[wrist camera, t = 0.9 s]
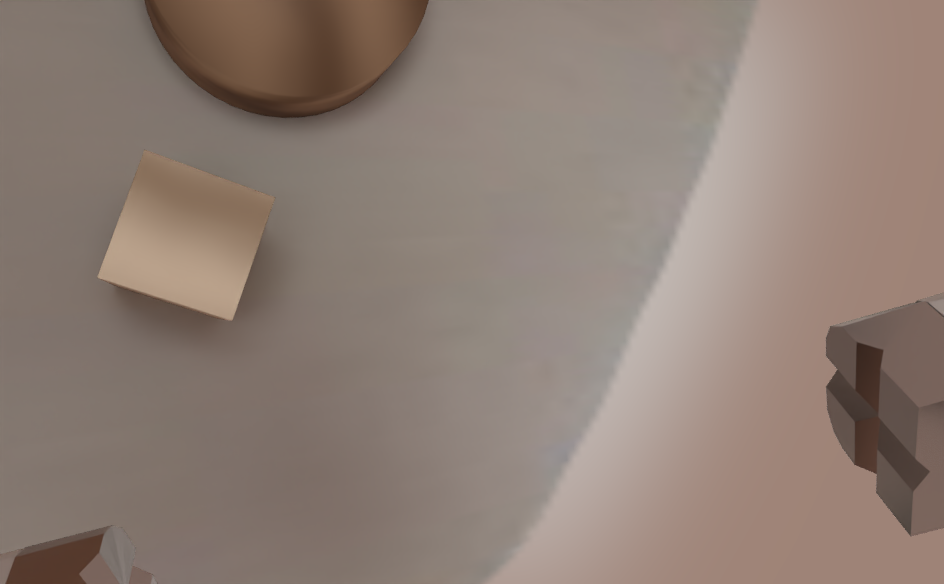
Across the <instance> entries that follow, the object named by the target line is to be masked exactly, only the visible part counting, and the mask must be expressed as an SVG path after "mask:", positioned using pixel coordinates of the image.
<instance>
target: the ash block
mask: <svg viewBox="0 0 944 584" xmlns="http://www.w3.org/2000/svg"><path fill="white" fill-rule="evenodd" d="M274 200H275V197H273V196H270V195H267V194H264V193H262V192H259V191H256V190H253V189H251V188H248V187H245V186H243V185H240V184H237V183H234V182H232V181H229V180H226V179H223V178H221V177H218V176H215V175H212V174H210V173H207V172H204V171H202V170H199V169H196V168H193V167H191V166H188V165H185V164H182V163H180V162H177V161H174V160H172V159H169V158H166V157H163V156H161V155H158V154H155V153H152V152H150V151H147V150H144V153H143V155H142V158H141V161H140V164H139V166H138V169H137V172H136V174H135V177H134V180H133V182H132V185H131V188H130V191H129V193H128V196H127V199H126V201H125V204H124V207H123V209H122V212H121V215H120V218H119V220H118V223H117V226H116V228H115V231H114V234H113V236H112V239H111V242H110V245H109V247H108V250H107V253H106V255H105V258H104V261H103V263H102V266H101V269H100V272H99V274H98V277H97V278H99V279H101V280H104V281H106V282H108V283H110V284H112V285H115V286H118V287H121V288H124V289H127V290H130V291H133V292H137V293H140V294H143V295H146V296H149V297H152V298H155V299H158V300H162V301H165V302H168V303H171V304H174V305H177V306H180V307H184V308H187V309H190V310H193V311H196V312H199V313H202V314H205V315H209V316H212V317H215V318H218V319H224V320H230V321H232V320H233V317H234V314H235V311H236V309H237V306H238V303H239V300H240V297H241V294H242V291H243V288H244V286H245V283H246V280H247V277H248V274H249V271H250V268H251V266H252V263H253V260H254V257H255V254H256V251H257V248H258V246H259V243H260V240H261V237H262V234H263V231H264V228H265V225H266V223H267V220H268V217H269V214H270V211H271V208H272V205H273V203H274Z"/></svg>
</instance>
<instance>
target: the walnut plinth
mask: <svg viewBox="0 0 944 584" xmlns="http://www.w3.org/2000/svg"><path fill="white" fill-rule="evenodd" d="M428 1H429V0H145V4H146V8H147V12H148V15H149V17H150V20H151V23H152V25H153V28H154V30H155V32H156V34H157V36H158V38H159V40H160V41H161V43H162V45H163V47H164V48H165V49H166V51H167V52H168V54H169V55H170V57H171V58H172V59H173V61H174V62H175V63H176V64H177V65H178V66H179V67H180V69H181V70H182V71H183V72H184V73H185V74H186V75H187V76H188V77H189V78H190V79H192V80H193V81H194V82H195V83H196V84H197V85H199V86H200V87H201V88H203V89H204V90H206V91H207V92H208V93H210V94H211V95H213V96H214V97H216V98H218V99H220V100H222V101H224V102H226V103H228V104H230V105H232V106H234V107H237V108H240V109H243V110H245V111H248V112H252V113H256V114H260V115H265V116H272V117H282V118H290V117H305V116H312V115H318V114H321V113H324V112H328V111H331V110H334V109H336V108H338V107H341V106H343V105H345V104H347V103H349V102H351V101H352V100H354V99H355V98H357V97H358V96H360V95H362V94H363V93H364V92H365V91H366V90H367V89H369V88H370V87H371V86H372V85H373V84H374V83H375V82H376V81H377V80H378V79H379V77H380V76H381V75H382V74H383V73H384V72H385V71H386V69H387V68H388V67H389V66H390V65H391V64H392V63H393V61H394V60H395V59H396V58H397V57H398V56H399V55H400V53H401V52H402V51H403V50H404V49H405V48H406V47H407V45H408V44H409V42H410V41H411V39H412V38H413V36H414V35H415V33H416V31H417V29H418V27H419V25H420V23H421V21H422V19H423V17H424V14H425V10H426V7H427V4H428Z"/></svg>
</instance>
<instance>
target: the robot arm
mask: <svg viewBox="0 0 944 584" xmlns="http://www.w3.org/2000/svg"><path fill="white" fill-rule="evenodd" d="M826 356H827V358H828V359H829V360H830V361H831V362H832V364H833V365H834V366H835V367H836V368H837V369H838V370H837V371H836V373H835V374H834V376H833V377H832V379H831V380H830V382H829V383H828V385H827V386H826V394H827V410H828V413H829V417H830V420H831V424H832V427H833V430H834V433H835V435H836V437H837V439H838V441H839V443H840V444H841V446H842V448H843V450H844V451H845V452H846V454H847V455H848V457H849V458H850V459H851V460H852V462H853V463H854V465H857V466H859V467H861V468H864V469H866V470H869V471H871V472H874V473H876V474H877V484H876V486H877V487H876V493H877V494H878V495H879V497H880V498H881V499H882V500H883V502H884V503H885V504H886V506H887V507H888V508H889V509H890V511H891V512H892V513H893V515H894V516H895V517H896V518H897V520H898V521H899V522H900V523H901V525H902V526H903V527H904V528H905V530H906V531H907V532H908V533H909V535H910V536H914V535H918V534H922V533H926V532H929V531H933V530H938V529H941V528H944V293H941V294H937V295H934V296H931V297H927V298H924V299H921V300H917V301H916V302H915V303H910V304H907V305H903V306H900V307H896V308H893V309H889V310H886V311H882V312H879V313H876V314H872V315H868V316H865V317H861V318H858V319H854V320H851V321H847V322H844V323H840V324H837V325H833V326H830V329H829V331H828V334H827V337H826ZM135 550H136V547H135V545H134V544H133V542H132V541H131V540H130V538H129V537H128V535H127V534H126V532H125V531H124V529H123V528H122V527H117V526H112V525H111V526H107V527H104V528H100V529H96V530H92V531H88V532H84V533H80V534H76V535H72V536H68V537H64V538H60V539H56V540H52V541H48V542H44V543H40V544H36V545H32V546H29V547H25V548H24V549H21V550H16V551H12V552H8V553H4V554H0V584H158V583H157V581H156V580H155V578H154V576H153V575H152V574H150V573H148V572H146V571H143V570H141V569H139V568H137V567H135V566H132V565H133V560H134V555H135Z"/></svg>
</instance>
